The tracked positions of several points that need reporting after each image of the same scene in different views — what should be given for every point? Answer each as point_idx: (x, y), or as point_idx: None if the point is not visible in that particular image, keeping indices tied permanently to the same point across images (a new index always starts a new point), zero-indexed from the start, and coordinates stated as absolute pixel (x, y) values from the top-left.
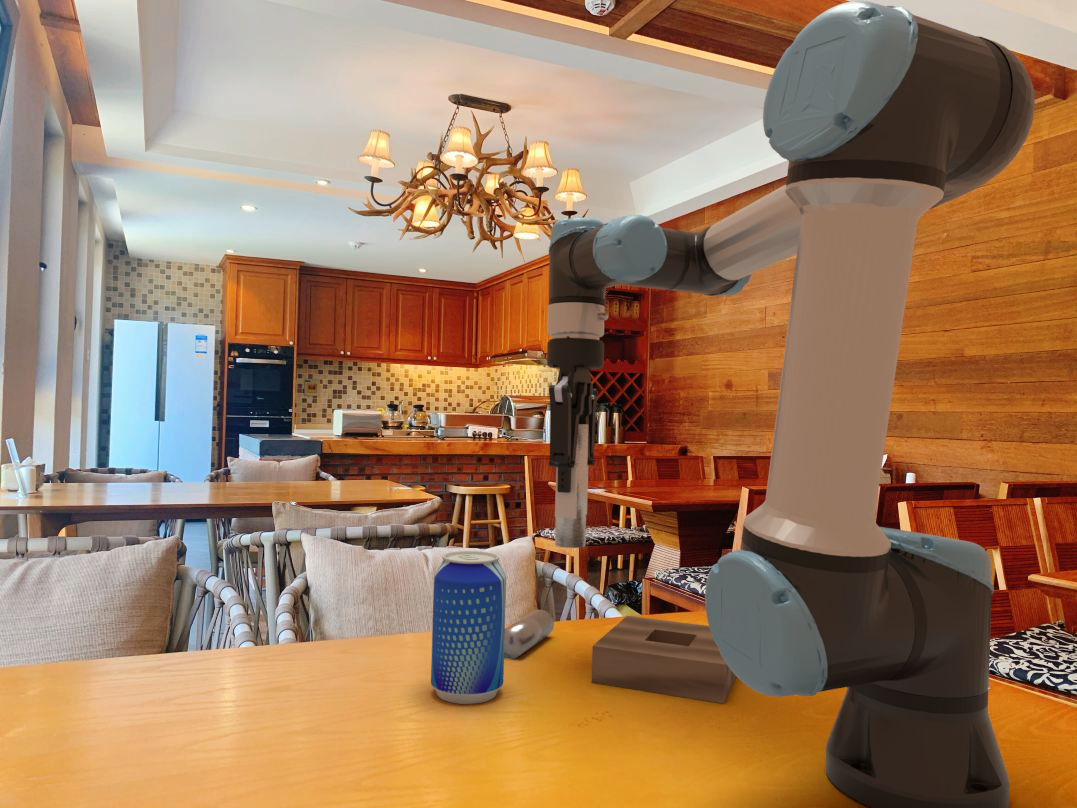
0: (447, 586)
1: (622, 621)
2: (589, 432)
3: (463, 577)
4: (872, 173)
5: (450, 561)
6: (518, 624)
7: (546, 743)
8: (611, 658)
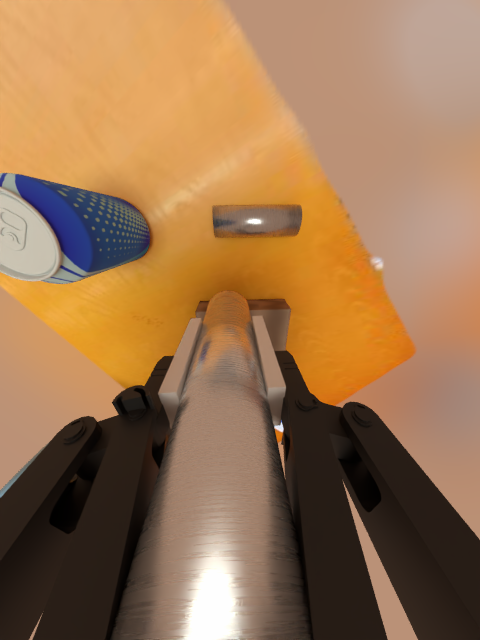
0: None
1: (270, 311)
2: (400, 587)
3: None
4: None
5: None
6: (236, 222)
7: (100, 310)
8: None
